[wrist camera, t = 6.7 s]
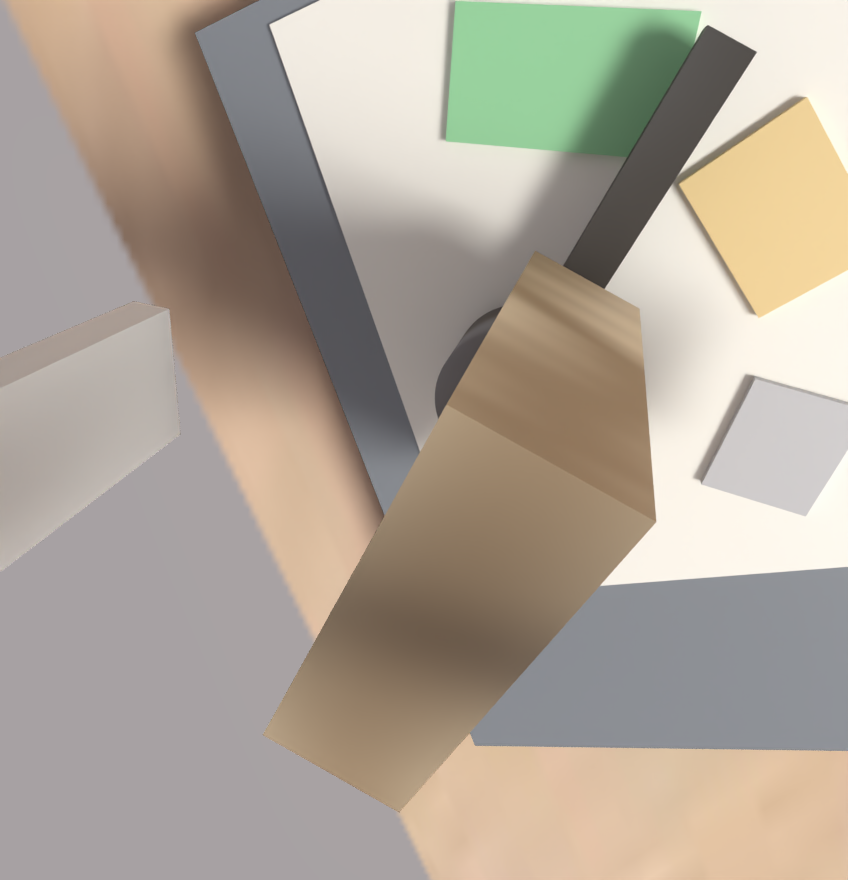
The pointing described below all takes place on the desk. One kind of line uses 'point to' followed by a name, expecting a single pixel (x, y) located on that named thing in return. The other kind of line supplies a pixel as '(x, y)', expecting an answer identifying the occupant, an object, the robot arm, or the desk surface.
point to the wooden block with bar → (505, 490)
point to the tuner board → (636, 281)
